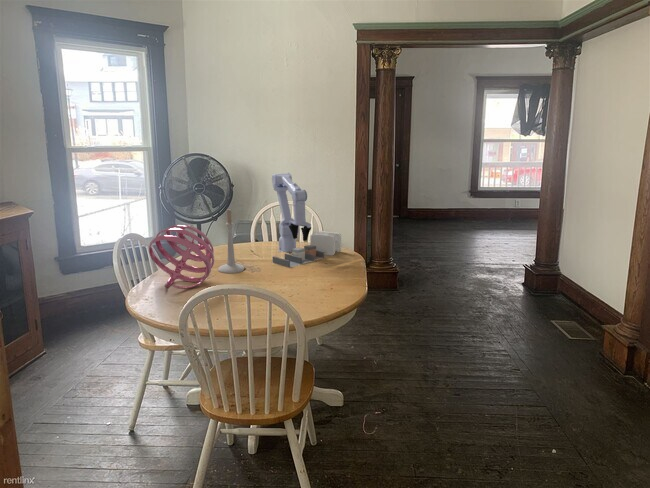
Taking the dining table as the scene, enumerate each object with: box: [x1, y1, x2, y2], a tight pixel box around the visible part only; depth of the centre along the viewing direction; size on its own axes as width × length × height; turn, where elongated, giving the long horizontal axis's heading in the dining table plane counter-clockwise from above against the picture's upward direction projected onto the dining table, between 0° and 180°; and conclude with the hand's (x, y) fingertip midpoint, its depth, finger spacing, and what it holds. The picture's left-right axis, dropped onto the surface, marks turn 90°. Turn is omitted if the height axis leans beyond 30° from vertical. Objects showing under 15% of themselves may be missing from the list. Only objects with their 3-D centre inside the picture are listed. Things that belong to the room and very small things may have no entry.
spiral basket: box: [148, 224, 215, 290], centre depth 217 cm, size 28×28×27 cm
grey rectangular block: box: [291, 246, 305, 260], centre depth 256 cm, size 4×5×6 cm
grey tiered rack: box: [272, 250, 325, 268], centre depth 257 cm, size 14×25×4 cm, turn 136°
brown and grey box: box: [303, 244, 316, 258], centre depth 262 cm, size 4×5×6 cm
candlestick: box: [217, 208, 246, 274], centre depth 240 cm, size 13×13×30 cm
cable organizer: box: [309, 230, 342, 256], centre depth 272 cm, size 15×11×12 cm
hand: (300, 239), depth 261 cm, fingers open, 7 cm apart
